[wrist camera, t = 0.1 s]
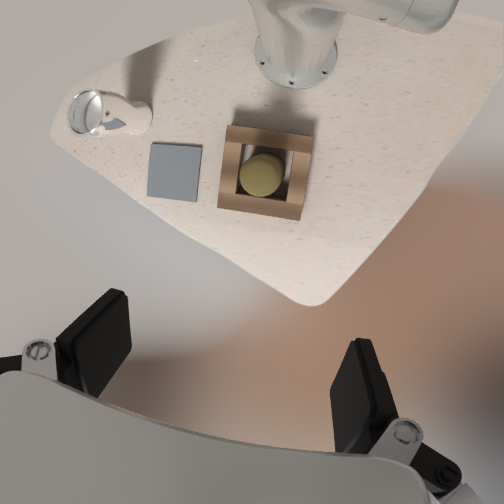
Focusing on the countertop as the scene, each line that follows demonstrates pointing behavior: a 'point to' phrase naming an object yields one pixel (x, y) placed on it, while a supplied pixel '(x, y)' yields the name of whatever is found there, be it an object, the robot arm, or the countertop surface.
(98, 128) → the beer glass
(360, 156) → the countertop surface
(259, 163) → the olive rounded peg
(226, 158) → the wooden square frame
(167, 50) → the countertop surface
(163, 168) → the rubber mat
